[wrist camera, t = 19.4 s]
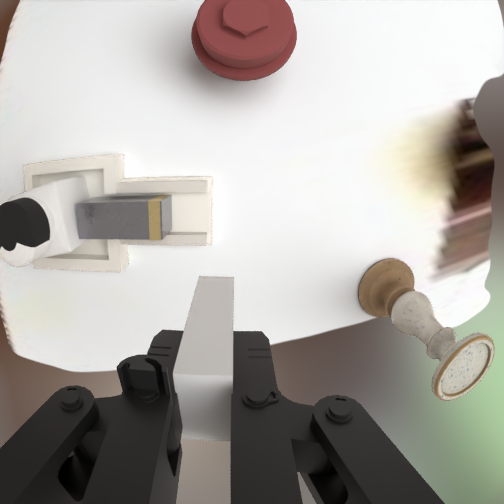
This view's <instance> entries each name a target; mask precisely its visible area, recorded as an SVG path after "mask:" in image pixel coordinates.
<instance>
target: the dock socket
mask: <svg viewBox="0 0 504 504" xmlns="http://www.w3.org/2000/svg"><path fill="white" fill-rule="evenodd" d="M79 176H84V177H85V178H86V182H87V188H88V193H89V197H90V198H93V197H106V196H138V195H172V230H171V231H170V232H169V233H168V234H167V235H166V237H165V238H164V239H163V240H129V239H90V240H88V241H87V242H85V243H83V244H82V245H80V246H79V247H77V248H76V249H74V250H73V251H71V252H69V253H64V254H60V255H55V256H50V257H46V258H41V259H37V260H33V265H34V268H40V269H60V270H81V271H105V272H122V271H123V270H124V269H125V268H126V267H127V266H128V265H129V258H128V246H127V244H131V245H204V246H206V245H212V189H213V177H151V178H124V154H115V155H102V156H91V157H81V158H72V159H63V160H55V161H48V162H40V163H34V164H27V165H24V189H25V192H26V191H29V190H31V189H34V188H37V187H39V186H42V185H45V184H48V183H51V182H54V181H59V180H64V179H69V178H74V177H79Z"/></svg>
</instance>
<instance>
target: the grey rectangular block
mask: <svg viewBox="0 0 504 504" xmlns="http://www.w3.org/2000/svg"><path fill="white" fill-rule="evenodd" d="M76 211H77V224H78V234H79V239H129V240H163V239H164V238H165V237H166V235H167V234H168V233H169V232H170V231H171V230H172V195H138V196H106V197H93V198H90V199H87V200H84V201H82V202H79V203H76Z"/></svg>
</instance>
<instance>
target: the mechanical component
mask: <svg viewBox="0 0 504 504" xmlns="http://www.w3.org/2000/svg"><path fill="white" fill-rule="evenodd" d="M191 37H192V44H193V47H194V50H195V52H196V55H197V56H198V58H199V60H200V61H201V62H202V64H203V65H204V66H205V67H207V68H208V69H209V70H210V71H212V72H213V73H215V74H217V75H219V76H221V77H224V78H227V79H232V80H239V81H249V80H256V79H260V78H264V77H266V76H269V75H271V74H272V73H274V72H276V71H277V70H279V69H280V68H281V67H282V66H283V65H284V64H285V63H286V62H287V61H288V59H289V58H290V56H291V54H292V52H293V50H294V48H295V45H296V40H297V31H296V26H295V23H294V18H293V14H292V11H291V9H290V7H289V5H288V4H287V2H286V1H285V0H205V1H204V2H203V4H202V5H201V7H200V9H199V11H198V14H197V17H196V19H195V21H194V24H193V27H192V34H191Z"/></svg>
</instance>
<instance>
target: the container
mask: <svg viewBox="0 0 504 504" xmlns="http://www.w3.org/2000/svg"><path fill="white" fill-rule="evenodd" d="M87 199H90V197H89V193H88V188H87V182H86V178H85V177H84V176H79V177H74V178H69V179H64V180H59V181H54V182H51V183H48V184H45V185H42V186H39V187H37V188H34V189H31V190H29V191H26V192H23V193H21V194H18V195H16V196H13V197H11V198H9V199H8V202H6V203H3V204H2V205H0V257H1V258H2V259H3V260H4V261H5V262H6V263H8V264H9V265H11V266H14V267H23V266H25V265H27V264H28V263H30V262H32V261H33V260H37V259H41V258H46V257H50V256H55V255H60V254H64V253H69V252H71V251H73V250H74V249H76V248H77V247H79V246H80V245H82V244H83V243H85V242H87V241H88V240H90V239H79V234H78V224H77V211H76V203H79V202H82V201H84V200H87Z"/></svg>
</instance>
